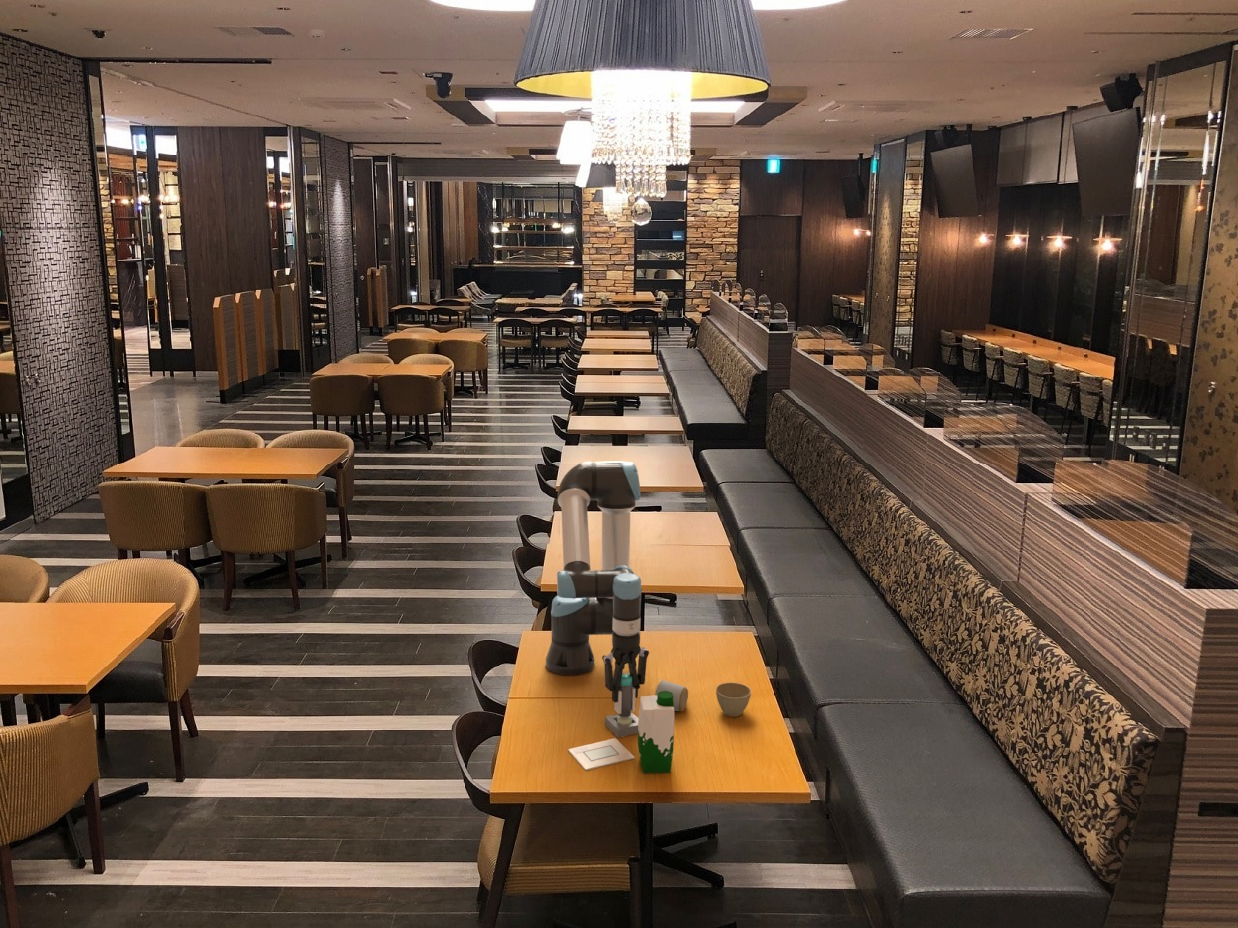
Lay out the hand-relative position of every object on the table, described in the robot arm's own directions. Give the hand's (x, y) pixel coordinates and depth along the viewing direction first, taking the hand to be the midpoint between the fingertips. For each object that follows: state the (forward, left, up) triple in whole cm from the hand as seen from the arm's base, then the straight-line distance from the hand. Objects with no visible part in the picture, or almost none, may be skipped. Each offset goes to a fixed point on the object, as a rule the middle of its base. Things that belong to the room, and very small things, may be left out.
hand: (624, 709), depth 286 cm
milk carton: (+21, -2, -6) cm, 22 cm away
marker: (0, 0, -2) cm, 2 cm away
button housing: (0, 0, -5) cm, 5 cm away
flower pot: (+5, +32, -6) cm, 33 cm away
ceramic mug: (-6, +18, -6) cm, 20 cm away
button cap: (0, 0, -5) cm, 5 cm away
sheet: (+10, -12, -5) cm, 17 cm away
